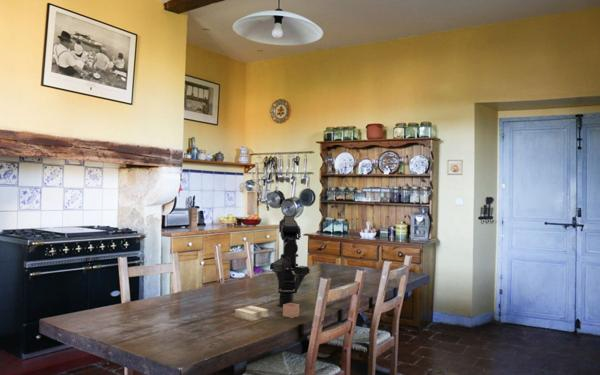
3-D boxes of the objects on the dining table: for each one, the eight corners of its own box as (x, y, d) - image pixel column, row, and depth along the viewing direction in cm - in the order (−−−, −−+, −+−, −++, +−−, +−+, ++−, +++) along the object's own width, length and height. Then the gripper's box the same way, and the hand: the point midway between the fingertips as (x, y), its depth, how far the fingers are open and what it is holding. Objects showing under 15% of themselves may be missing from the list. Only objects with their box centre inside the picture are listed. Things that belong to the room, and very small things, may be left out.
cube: (290, 313, 213) (290, 302, 213) (299, 315, 209) (299, 304, 210) (282, 316, 209) (283, 304, 209) (291, 318, 206) (291, 306, 206)
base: (251, 312, 213) (251, 305, 213) (268, 316, 207) (268, 309, 207) (235, 316, 205) (235, 309, 205) (251, 321, 199) (251, 313, 199)
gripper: (261, 251, 209) (260, 287, 209) (293, 256, 197) (292, 294, 197) (279, 249, 218) (278, 283, 218) (310, 253, 205) (309, 290, 205)
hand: (288, 288), depth 209 cm, fingers open, 9 cm apart
